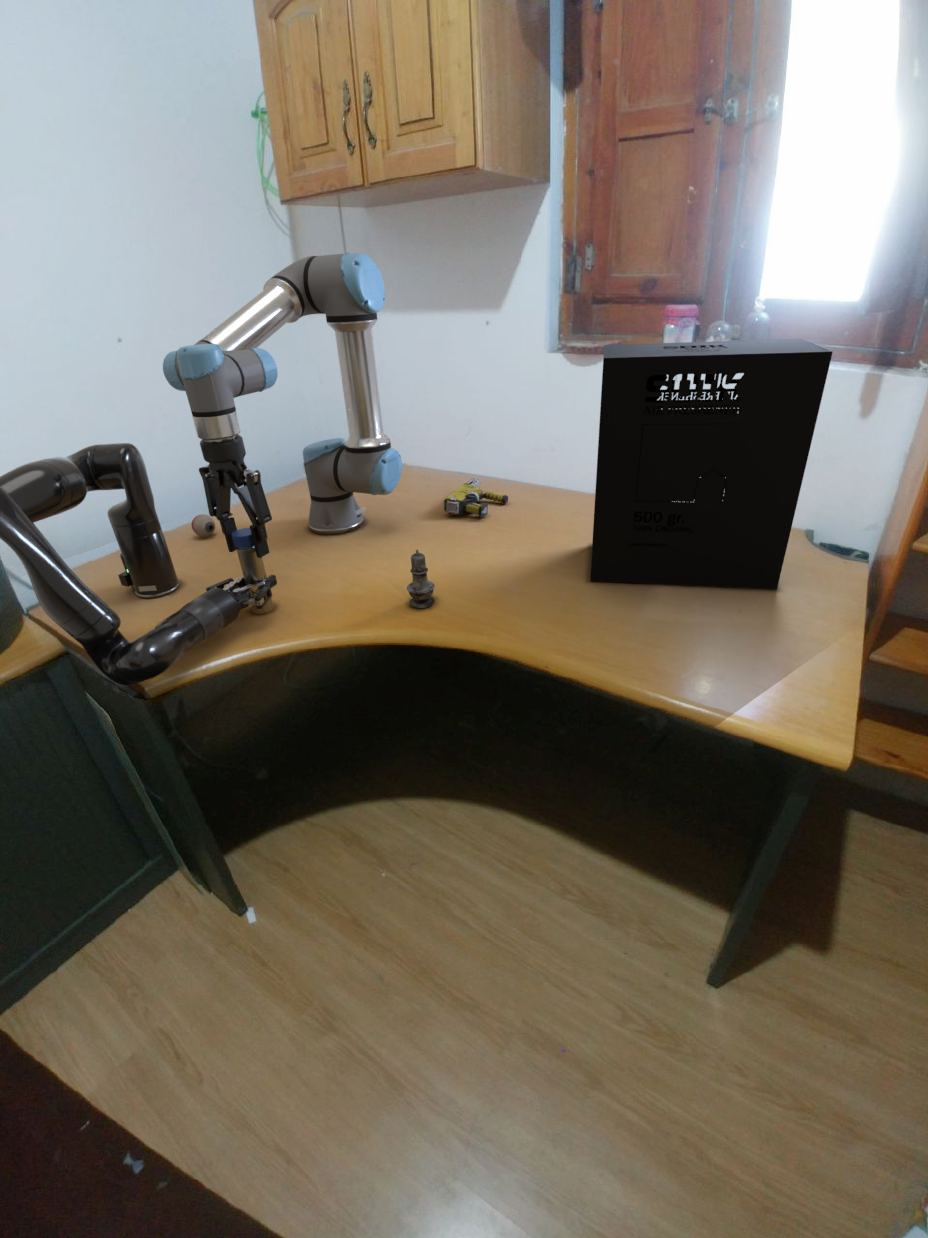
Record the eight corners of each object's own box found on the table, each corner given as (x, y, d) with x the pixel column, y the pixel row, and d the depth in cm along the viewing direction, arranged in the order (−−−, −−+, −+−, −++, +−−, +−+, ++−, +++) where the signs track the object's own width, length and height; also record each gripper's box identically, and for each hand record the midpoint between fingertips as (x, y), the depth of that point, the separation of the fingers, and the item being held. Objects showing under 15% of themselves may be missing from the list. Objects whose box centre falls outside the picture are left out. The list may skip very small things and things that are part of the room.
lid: (232, 549, 118) (229, 538, 117) (235, 540, 122) (232, 529, 121) (258, 546, 119) (256, 534, 118) (260, 536, 123) (257, 526, 122)
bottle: (259, 616, 126) (241, 542, 117) (248, 610, 128) (229, 537, 120) (277, 607, 128) (260, 535, 120) (266, 601, 131) (248, 530, 123)
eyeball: (204, 541, 163) (198, 520, 160) (190, 537, 166) (184, 517, 163) (223, 533, 168) (217, 513, 165) (208, 530, 171) (202, 510, 168)
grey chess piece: (432, 609, 124) (427, 555, 118) (404, 607, 125) (398, 554, 119) (439, 596, 129) (434, 544, 123) (412, 594, 130) (407, 543, 124)
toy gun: (516, 483, 183) (470, 476, 187) (493, 506, 163) (442, 498, 167) (515, 498, 186) (469, 491, 190) (492, 523, 166) (441, 514, 170)
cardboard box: (756, 549, 141) (800, 338, 118) (776, 589, 124) (832, 351, 101) (592, 544, 148) (604, 344, 126) (590, 580, 131) (603, 357, 109)
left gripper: (231, 603, 110) (289, 565, 123) (172, 592, 115) (234, 557, 128) (241, 638, 113) (296, 597, 127) (184, 626, 118) (242, 588, 132)
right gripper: (275, 435, 109) (299, 552, 120) (198, 429, 117) (227, 538, 129) (245, 445, 103) (273, 567, 115) (166, 438, 112) (199, 552, 123)
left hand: (265, 577), depth 127 cm, fingers closed on bottle, 4 cm apart
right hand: (249, 552), depth 122 cm, fingers open, 7 cm apart
